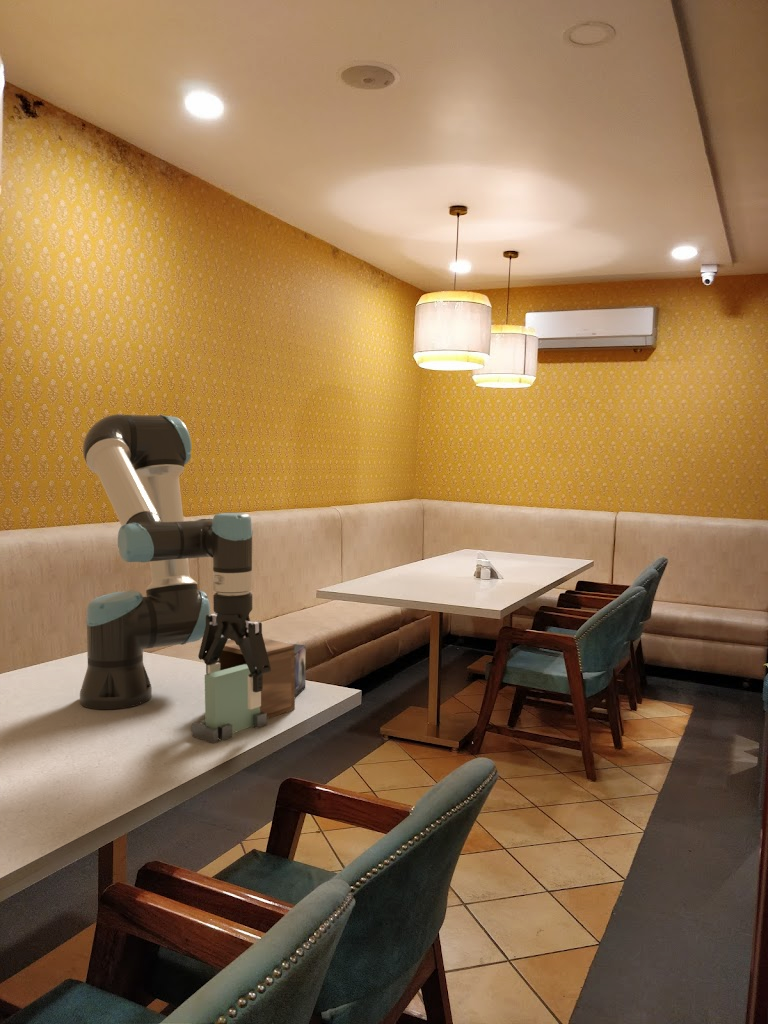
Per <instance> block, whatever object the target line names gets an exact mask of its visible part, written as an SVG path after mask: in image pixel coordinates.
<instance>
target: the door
mask: <svg viewBox="0 0 768 1024" xmlns="http://www.w3.org/2000/svg"><path fill="white" fill-rule="evenodd" d="M255 669H257V668H256V667H255ZM249 674H251V673H250V670H249V668H248V666H247V664H243V665H239V666H236V667H232V668H228V669H224V670H221V671H217V672H213V673H209V674H206V673H205V674H204V708H205V709H204V710H205V711H204V714H205V719H206V726H209V727H212V728H215V729H218V727H219V726H222V725H225V724H228V723H229V724H232V734H234V733H237V732H239V731H243V730H245V729H248V728H251V727H253V715H254V714H257V713H260V707H257V708H254V709H251V710H250V709H248V675H249ZM205 719H204V720H205Z"/></svg>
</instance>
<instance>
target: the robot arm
mask: <svg viewBox="0 0 768 1024" xmlns="http://www.w3.org/2000/svg"><path fill="white" fill-rule="evenodd" d="M82 445H83V447H82V452H83V458H84V460H85V463H86V465H87V467H88V469H89V470H90V471H91V472H92V473H93V474H95V475H97V478H98V479H99V481H100V483H101V485H102V487H103V489H104V492H105V494H106V496H107V498H108V499H109V502H110V504H111V506H112V509H113V511H114V512H115V514H116V517H117V519H118V521H119V523H120V524H121V525H120V528H119V530H118V533H117V547H118V552H119V556H120V558H121V559H122V560H124V561H125V562H127V563H149V565H150V575H151V577H150V578H151V582H150V584H149V585H148V586H147V587H146V588H145V591H146V592H145V593H146V596H143V594H142V593H141V592H140V591H139V590H126V591H116V592H111V593H106V594H104V595H100V596H97V597H95V598H94V599H92V600H91V601H89V603H88V604H87V608H86V620H85V625H86V649H87V650H86V651H87V668H86V672H85V675H84V677H83V678H84V679H83V680H82V684H81V688H80V691H79V703H80V705H81V706H83V707H85V708H88V709H96V710H118V709H125V708H130V707H135V706H139V705H141V704H144V703H146V702H148V701H150V700H151V698H152V697H153V694H152V693H153V691H152V690H153V689H152V684H151V682H150V681H151V680H150V678H149V676H148V673H147V670H146V667H145V665H144V650H146V649H154V648H162V647H170V646H176V645H186V644H189V643H194V642H199V641H200V640H201V644H200V647H199V652H198V660H200V661H201V660H202V661H204V662H203V663H204V664H205V675H206V674H209V673H213V672H217V671H220V663H215V662H217V661H220V660H219V656H220V654H221V652H222V650H223V648H224V646H225V644H226V642H227V640H233V641H235V643H236V644H237V645H239V647H240V649H241V652H242V654H243V656H244V659H245V661H246V663H247V666H248V668H249V670H250V673H251V674H249V675H248V709H250V710H251V709H254V708H257V707H260V706H261V691H262V689H263V686H262V685H263V684H262V683H263V674H264V673H267V672H270V671H271V667H270V663H269V659H268V655H267V651H266V647H265V643H264V639H263V638H264V637H263V624H262V621H260V620H258V621H251V619H250V613H251V612H252V610H253V594H252V592H251V591H253V534H254V532H253V528H252V518H251V516H250V515H249V514H248V513H245V512H221V513H216V514H215V515H213V518H199V519H196V520H186V521H184V520H185V519H184V512H183V502H182V495H181V493H182V492H181V486H180V485H181V484H180V476H181V475H182V474H183V473H184V471H185V465H187V464H188V463H189V462H190V460H191V457H192V452H191V451H192V439H191V435H190V432H189V430H188V428H187V426H186V424H185V423H184V422H183V420H181V419H180V418H179V417H176V416H169V415H164V414H159V415H155V414H154V415H149V414H148V415H146V414H143V415H141V414H120V413H119V414H112V415H108V416H105V417H103V418H101V419H100V420H98V421H97V422H95V423H94V424H93V425H92V426H91V428H89V430H88V432H87V433H86V435H85V438H84V440H83V444H82ZM199 558H211V559H213V560H212V564H213V565H212V571H213V574H212V575H213V578H212V579H213V591H214V592H215V593H214V594H213V602H212V603H213V611H214V613H211V605H210V600H209V598H208V595H207V593H206V592H205V591H203V590H199V586H198V582H197V581H196V580H195V579H193V578H192V577H191V575H190V566H189V559H199ZM244 637H246V638H244ZM263 666H264V667H263ZM255 667H256V668H257V669H255Z"/></svg>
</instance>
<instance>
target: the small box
mask: <svg viewBox="0 0 768 1024" xmlns="http://www.w3.org/2000/svg"><path fill="white" fill-rule="evenodd" d="M292 644H293V645H295V698H296V697H297V696H298V695H299V694H300V693H301V692H302V691H304V690H305V689H306V664H307V663H306V658H307V657H306V653H307V652H306V651H307V650H306V649H307V648H306V647H307V645H306V644H297V643H296V644H295V643H292Z"/></svg>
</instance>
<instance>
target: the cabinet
mask: <svg viewBox="0 0 768 1024" xmlns="http://www.w3.org/2000/svg"><path fill="white" fill-rule="evenodd" d="M244 638H246V637H244ZM263 639H264V643H265V647H266V651H267V655H268V659H269V663H270V667H271V671H270V672H267V673H264V674H263V683H262V684H263V685H262V686H263V689H262V691H261V706H260V712H265V713H267V720H268V719H271V718H274V717H277V716H279V715H282V714H283V715H284V714H285V713H289V712H292V711H294V710H295V709H296V707H295V706H296V697H295V645H293V644H294V643H289V642H288V643H287V642H284V641H278V640H273V639H268V638H264V637H263ZM219 660H220V661H217V662H215V663H220V671H221V670H224V669H228V668H232V667H236V666H239V665H243V664H247V663H246V661H245V659H244V656H243V654H242V652H241V649H240V647H239V645H237V644H236V643H235V641H233V640H231V639H228V640H227V642H226V644H225V646H224V648H223V650H222V652H221V654H220V656H219ZM263 667H264V666H263Z"/></svg>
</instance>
